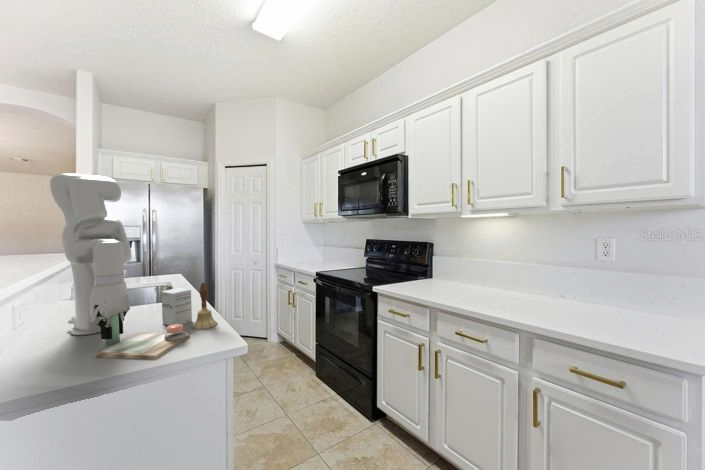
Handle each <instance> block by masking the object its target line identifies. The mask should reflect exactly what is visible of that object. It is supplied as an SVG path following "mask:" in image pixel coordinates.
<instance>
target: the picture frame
mask: <svg viewBox="0 0 705 470" xmlns="http://www.w3.org/2000/svg"><path fill="white" fill-rule="evenodd" d="M190 337H191V334H190V333H187V332H186V331H185V330H182V331H181V332H177V333H167V332H166V333H165V332H163V333H160V332H138V333H136V334H134V335H132V336H130V337H128V338H126V339H123V340H120V342H119V343H117V344H113V345H110V346H109V347H107V348H104V349H103V350H101V351H99V352H97V353H96V354H95V357H96V358H109V359H112V358H113V359H141V360H142V359H145V360H157V359H158V358H160V357H161V356H163V355H165V354H166V353H168V352H169V351H170V350H172V349H173V348H175V347H177V346H178V345H180V344H181V343H183V342H184V341H186V340H188V339H189V338H190Z"/></svg>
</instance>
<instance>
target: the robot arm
mask: <svg viewBox="0 0 705 470" xmlns="http://www.w3.org/2000/svg"><path fill="white" fill-rule="evenodd" d="M49 189H50V192H51V196H52V198H53V200H54V202H55V203H56V204H57V206H58V207H59V209H60V210H61V212H62V213H63V216H64V219H65V223H66V224H65V226H64V228H63V230H62V235H61V240H62V245H63V250H64V251H63V252H64V255H65V257H66V260H67V261H68V262H69V264H70V267H71V270H72V271H71V272H72V277H73V290H74V291H73V292H74V304H75V306H74V307H75V316H72V317H71V319H69V320H68V321H67V323H68V325H73V327H72V328H71V329H70V334H71V335H74V336H85V335H93V334H98V333H100V339H101V340H105V339H112V327H111V326H110V317H111V316H113V315H116V314H119V334H120V335H122V334H124V321H125V317H126V315H127V313H128V312H129V311H130V309H131V307H130V306H129V292H128V288H127V283H126V281H125V277H126V276H125V275H126V274H125V267H124V266H125V265H127V264H129V263H130V261H131V259H132V249H131V246H130V242H129V239H128V237H127V233H126V231H125V227H124V225H123V223H122V222H121V221H120V219H117V218H115V217H108V212H107V208H106V204H105V202H107V203H116V202H118V201H120V200H121V198H122V197H121V196H122V190H121V187H120V185H119V183H118V182H117V181H116V180H115V179H113V178H110V177H107V176H102V175H93V174H92V175H91V174H90V175H89V174H81V173H79V174H78V173H58V174H56V175H53V176H52V177H51V179H50V181H49ZM104 319H105V322H104Z"/></svg>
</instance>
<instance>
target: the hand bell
mask: <svg viewBox="0 0 705 470" xmlns="http://www.w3.org/2000/svg"><path fill="white" fill-rule="evenodd" d="M199 297H200V298H201V299H200V301H201V305H200V306H201V310H199V311H198V312H197V317H196V321H195V322H194V324H192V329H193V330H194V329H195V330H206V329H210V328H213V327H215V326H217V325H218V322H217V320H215V319H214V318H213V314H212V311H211V309H209V308H208V306H207V297H208V287H207V285H206V283H205V282H201V283H200V287H199Z"/></svg>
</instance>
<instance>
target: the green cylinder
mask: <svg viewBox="0 0 705 470" xmlns="http://www.w3.org/2000/svg"><path fill="white" fill-rule="evenodd" d="M104 322H105V319H104ZM110 326H111V327H112V339H104V341H105V345H106V346H113V345H115V344H117V343H119V342H121V340H120V339H121V337H120V336H121V334H119V314H116V315H113V316H111V317H110Z"/></svg>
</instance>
